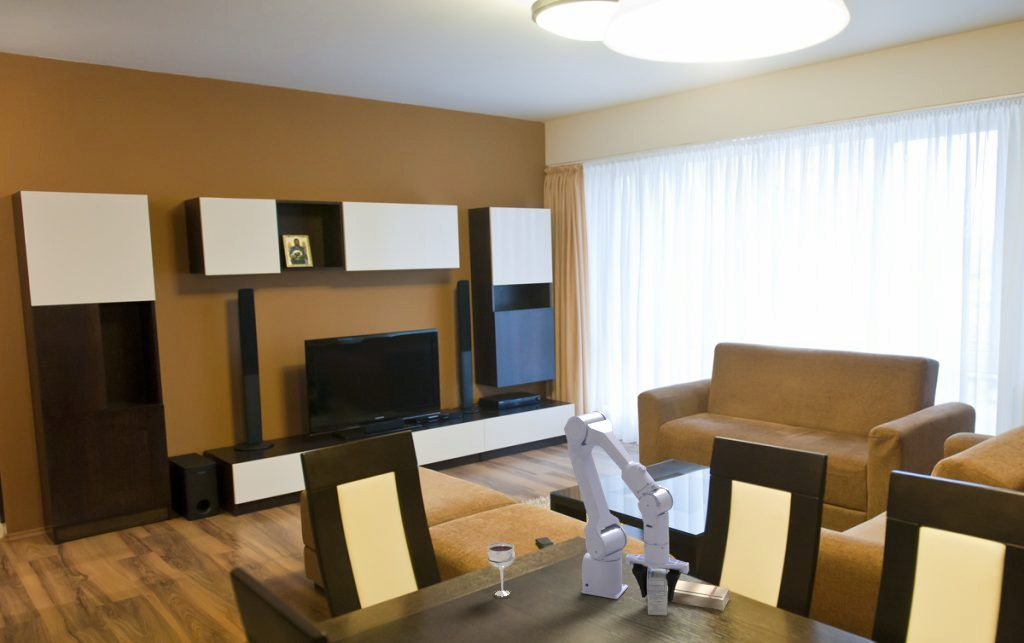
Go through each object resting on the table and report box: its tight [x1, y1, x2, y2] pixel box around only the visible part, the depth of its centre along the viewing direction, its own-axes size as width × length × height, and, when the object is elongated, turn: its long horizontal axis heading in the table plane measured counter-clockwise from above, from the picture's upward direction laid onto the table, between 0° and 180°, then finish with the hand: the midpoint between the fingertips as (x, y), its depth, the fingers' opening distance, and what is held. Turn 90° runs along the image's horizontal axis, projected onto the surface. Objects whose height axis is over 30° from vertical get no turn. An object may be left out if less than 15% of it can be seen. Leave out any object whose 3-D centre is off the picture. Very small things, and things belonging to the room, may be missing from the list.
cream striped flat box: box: [667, 579, 730, 611], centre depth 183 cm, size 18×7×3 cm, turn 63°
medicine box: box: [646, 568, 668, 617], centre depth 178 cm, size 8×4×9 cm, turn 168°
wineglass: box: [487, 541, 516, 597], centre depth 188 cm, size 7×7×12 cm
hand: (657, 598), depth 178 cm, fingers closed on medicine box, 6 cm apart
